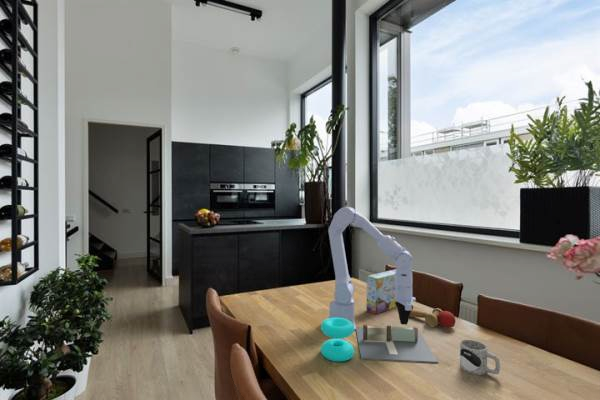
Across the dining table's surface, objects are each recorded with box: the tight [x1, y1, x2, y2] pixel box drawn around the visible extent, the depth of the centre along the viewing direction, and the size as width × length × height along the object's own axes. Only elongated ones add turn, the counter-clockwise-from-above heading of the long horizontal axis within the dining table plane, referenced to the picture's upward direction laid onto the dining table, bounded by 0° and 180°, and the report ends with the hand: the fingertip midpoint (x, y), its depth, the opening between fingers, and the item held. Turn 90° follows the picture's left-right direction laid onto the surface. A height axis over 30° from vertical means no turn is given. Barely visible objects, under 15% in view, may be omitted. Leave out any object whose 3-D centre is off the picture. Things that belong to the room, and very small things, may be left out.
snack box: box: [365, 269, 398, 315], centre depth 137 cm, size 21×6×15 cm, turn 129°
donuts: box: [320, 317, 355, 362], centre depth 97 cm, size 10×10×10 cm
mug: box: [459, 339, 501, 376], centre depth 88 cm, size 10×7×7 cm, turn 37°
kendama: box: [409, 307, 456, 329], centre depth 121 cm, size 8×6×18 cm
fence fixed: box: [362, 324, 392, 342], centre depth 105 cm, size 9×1×5 cm, turn 84°
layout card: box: [355, 326, 439, 364], centre depth 104 cm, size 22×22×1 cm
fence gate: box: [391, 326, 419, 342], centre depth 104 cm, size 8×1×4 cm, turn 84°
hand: (403, 323), depth 112 cm, fingers closed
